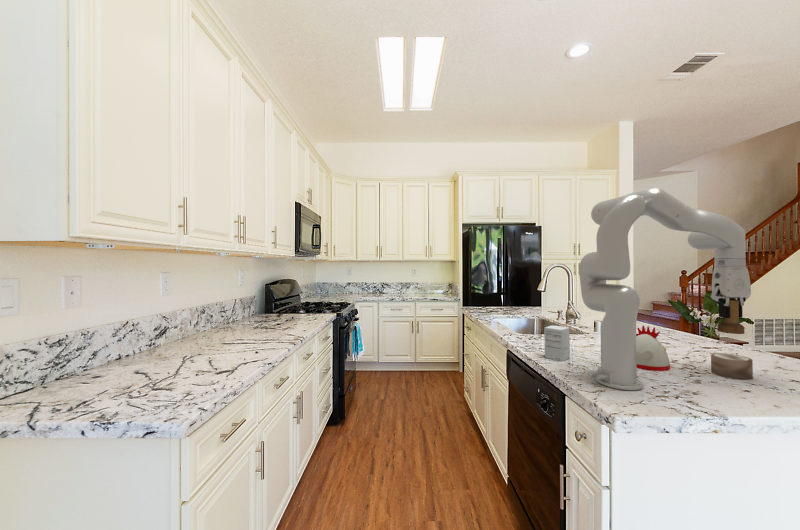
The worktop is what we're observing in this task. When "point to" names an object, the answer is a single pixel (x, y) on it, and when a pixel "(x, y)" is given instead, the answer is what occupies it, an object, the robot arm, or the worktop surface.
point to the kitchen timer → (650, 351)
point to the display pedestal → (732, 366)
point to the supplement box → (557, 342)
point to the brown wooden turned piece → (732, 320)
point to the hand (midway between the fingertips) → (730, 316)
